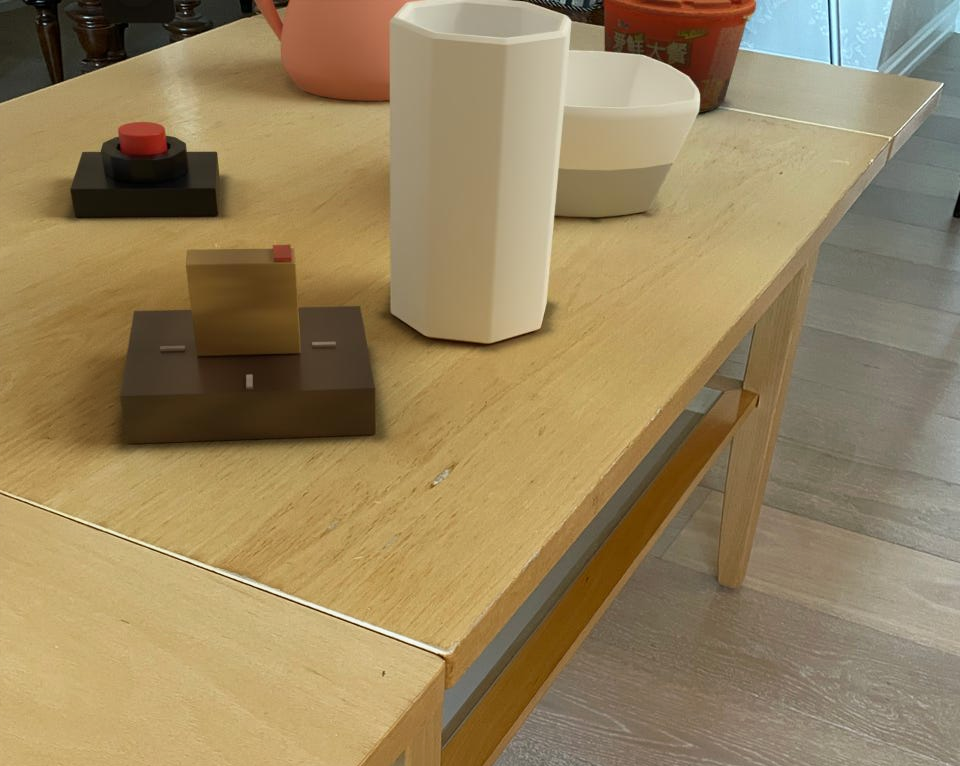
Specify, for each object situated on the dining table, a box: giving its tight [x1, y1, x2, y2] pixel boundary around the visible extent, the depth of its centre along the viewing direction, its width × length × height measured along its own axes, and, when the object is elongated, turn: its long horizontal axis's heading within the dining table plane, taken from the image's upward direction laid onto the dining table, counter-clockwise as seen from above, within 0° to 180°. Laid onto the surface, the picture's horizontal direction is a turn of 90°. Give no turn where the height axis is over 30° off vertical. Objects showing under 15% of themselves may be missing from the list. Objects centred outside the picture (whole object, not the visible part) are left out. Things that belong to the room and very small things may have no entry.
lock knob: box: [185, 244, 301, 356], centre depth 66 cm, size 6×2×6 cm, turn 99°
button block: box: [69, 135, 221, 218], centre depth 93 cm, size 11×9×4 cm
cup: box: [389, 0, 572, 345], centre depth 75 cm, size 11×11×18 cm
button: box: [117, 121, 167, 155], centre depth 92 cm, size 4×4×2 cm
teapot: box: [253, 0, 422, 102], centre depth 119 cm, size 25×17×13 cm
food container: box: [603, 0, 757, 114], centre depth 121 cm, size 16×16×11 cm
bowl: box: [554, 49, 700, 218], centre depth 97 cm, size 18×18×9 cm
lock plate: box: [119, 305, 377, 445], centre depth 69 cm, size 14×11×3 cm
